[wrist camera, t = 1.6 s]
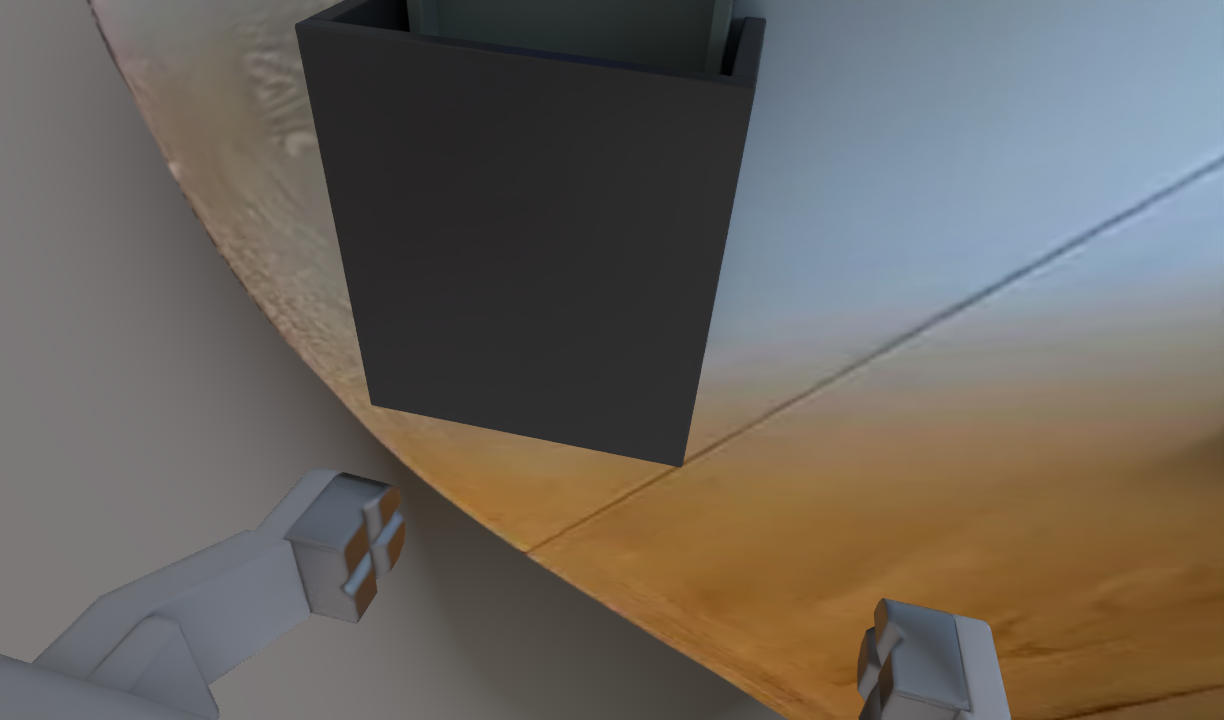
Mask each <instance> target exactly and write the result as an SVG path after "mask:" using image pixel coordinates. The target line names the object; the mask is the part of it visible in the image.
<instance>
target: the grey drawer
mask: <svg viewBox="0 0 1224 720" xmlns="http://www.w3.org/2000/svg"><path fill="white" fill-rule="evenodd" d="M733 5H734V0H407V9H408V18H409V28H410V32H411V33H419V34H426V35H433V36H441V37H448V38H455V39H462V40H470V41H477V42H484V43H492V44H499V45H506V46H514V47H521V48H528V49H535V50H543V51H550V52H557V53H565V54H572V55H579V56H586V57H594V58H601V59H608V60H616V61H623V62H630V63H638V64H645V65H652V66H659V67H667V68H674V69H681V70H689V71H696V72H703V73H711V74H718V75H722V72H723V66H724V60H725V54H726V48H727V42H728V36H729V29H730V23H731V17H732V11H733Z"/></svg>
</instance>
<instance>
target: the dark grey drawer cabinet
mask: <svg viewBox="0 0 1224 720" xmlns="http://www.w3.org/2000/svg"><path fill="white" fill-rule="evenodd" d="M765 27H766V19H764V18H756V17H746V18H745V21H744V25H743V29H742V33H741V37H740V41H739V45H738V49H737V53H736V57H735V61H734V65H733V69H732V73H731V76H725V75H718V74H711V73H703V72H696V71H689V70H681V69H674V68H667V67H659V66H652V65H645V64H638V63H630V62H623V61H616V60H608V59H601V58H594V57H586V56H579V55H572V54H565V53H557V52H550V51H543V50H535V49H528V48H521V47H514V46H506V45H499V44H492V43H484V42H477V41H470V40H462V39H455V38H448V37H441V36H433V35H426V34H419V33H411V32H410V28H409V18H408V9H407V0H344V1H342V2H340V3H338V4H336V5H334V6H332V7H330V8H328V9H326V10H323V11H321V12H319V13H317V14H315V15H313V16H311V17H309V18H307V19H305V20H303V21H301V22H299V23H296V24H295V29H296V34H297V39H298V44H299V49H300V54H301V59H302V64H303V69H304V74H305V79H306V84H307V89H308V94H309V98H310V103H311V108H312V113H313V118H314V123H315V128H316V133H317V138H318V143H319V148H320V153H321V158H322V163H323V168H324V173H325V178H326V183H327V188H328V193H329V198H330V203H331V207H332V212H333V217H334V222H335V227H336V232H337V237H338V242H339V247H340V252H341V257H342V262H343V267H344V272H345V277H346V282H347V287H348V292H349V297H350V302H351V307H352V311H353V316H354V321H355V326H356V331H357V336H358V341H359V346H360V351H361V356H362V361H363V366H364V371H365V376H366V381H367V386H368V391H369V396H370V401H371V404H372V405H374V406H379V407H384V408H389V409H394V410H399V411H404V412H408V413H413V414H418V415H423V416H428V417H433V418H438V419H443V420H448V421H453V422H458V423H463V424H468V425H473V426H478V427H483V428H488V429H493V430H498V431H503V432H508V433H513V434H517V435H522V436H527V437H532V438H537V439H542V440H547V441H552V442H557V443H562V444H567V445H572V446H577V447H582V448H587V449H592V450H597V451H602V452H607V453H612V454H617V455H622V456H627V457H631V458H636V459H641V460H646V461H651V462H656V463H661V464H666V465H671V466H676V467H682V466H683V461H684V456H685V451H686V445H687V440H688V435H689V430H690V425H691V420H692V414H693V409H694V404H695V399H696V394H697V389H698V384H699V378H700V373H701V368H702V363H703V358H704V353H705V347H706V342H707V337H708V332H709V327H710V322H711V316H712V311H713V306H714V301H715V296H716V291H717V286H718V280H719V275H720V270H721V265H722V260H723V255H724V249H725V244H726V239H727V234H728V229H729V224H730V218H731V213H732V208H733V203H734V198H735V193H736V188H737V182H738V177H739V172H740V167H741V162H742V157H743V151H744V146H745V141H746V136H747V131H748V126H749V121H750V115H751V110H752V105H753V100H754V95H755V90H756V83H757V77H758V71H759V64H760V58H761V52H762V45H763V39H764V33H765Z"/></svg>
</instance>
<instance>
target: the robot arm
mask: <svg viewBox="0 0 1224 720" xmlns="http://www.w3.org/2000/svg"><path fill="white" fill-rule="evenodd" d="M400 502H401V497H400V492H399V487H396V486H394V485H390V484H386V483H382V482H379V481H375V480H371V479H367V478H363V477H360V476H356V475H352V474H348V473H344V472H339V471H335V470H331V469H327V468H323V467H319V466H316V467H315V468H312V469H310V470H309V471H307V472H306V474H305V475H304V476H303V477H302V478H301V479H300V480H299V481H298V482H297V484H296V485H295V486H294V487H293V488H292V489H291V490H290V491H289V493H288V494H287V495H286V496H285V497H284V498H283V500H281V502H280V503H279V504H278V505H277V506H276V507H275V508H274V509H273V511H272V512H271V513H270V514H269V515H268V516H267V518H265V520H264V521H263V522H262V523H261V524H260V525H259V526H258V528H257V529H256V530H255V531H249V530H245V531H243V532H240V533H238V534H236V535H234V536H232V537H229V538H227V539H225V540H223V541H221V542H218V543H216V544H214V545H212V546H210V547H207V548H205V549H203V550H201V551H199V552H196V553H194V554H192V555H190V556H188V557H185V558H183V559H181V560H179V561H177V562H174V563H172V564H170V565H168V566H166V567H164V568H161V569H159V570H157V571H155V572H153V573H150V574H148V575H146V576H144V577H141V578H139V579H137V580H135V581H133V582H130V583H128V584H126V585H124V586H122V587H119V588H117V589H115V590H113V591H111V592H108V593H106V594H104V595H102V596H100V597H99V598H98V599H97V600H96V601H95V602H94V603H92V604H91V605H90V606H89V608H87V609H86V610H85V611H84V612H83V613H82V614H81V615H80V616H79V617H78V618H77V619H76V620H75V621H74V622H73V623H72V624H71V625H70V626H69V627H68V628H67V629H66V630H65V631H64V632H63V633H62V634H61V635H60V636H59V637H58V638H57V639H56V640H55V641H54V642H53V643H52V644H51V645H50V646H49V647H48V648H47V649H45V651H44V652H43V653H42V654H40V655H39V656H38V657H37V658H36V659H35V660H34V661H33V662H32V663H28V662H24V661H21V660H18V659H14V658H11V657H8V656H5V655H1V654H0V720H218V719H219V717H220V716H219V708H218V706H217V704H216V702H215V700H214V697H213V695H212V693H211V691H210V689H209V687H208V685H209V684H211V683H213V682H214V681H216V680H217V679H218V678H220V677H221V676H223V675H225V674H226V673H228V672H229V671H230V670H232V669H233V668H235V667H236V666H238V665H239V664H241V663H242V662H244V661H245V660H247V659H248V658H249V657H251V656H253V655H254V654H256V653H257V652H259V651H260V650H261V649H263V648H264V647H266V646H267V645H269V644H270V643H272V642H273V641H275V640H276V639H278V638H279V637H280V636H282V635H284V634H285V633H286V632H288V631H290V630H291V629H292V628H294V627H295V626H297V625H298V624H300V623H301V622H303V621H304V620H306V619H307V618H309V617H310V616H311V613H314V614H318V615H322V616H327V617H331V618H335V619H340V620H343V621H347V622H352V623H356V624H357V623H358V622H359V620H360V619H361V617H362V615H363V614H364V612H365V611H366V609H367V608H368V606H369V604H370V603H371V601H372V600H373V598H374V597H375V595H376V593H377V586H376V579H378V578H380V577H381V576H383V575H385V574H387V573H389V572H390V571H391V570H392V568H393V566H394V565H395V563H396V561H397V560H398V558H399V555H400V552H401V550H402V547H403V544H404V538H405V522H404V518H403V517H402V516H401V515H400V514H399V513H398V511H397V510H396V508H397V507H398V505H399V504H400ZM874 621H875V626H874V627H872V628H870V629H868V630H866V633H865V635H864V638H863V641H862V643H861V648H860V653H859V658H858V669H857V687H858V692H859V693H860V694H861V696H862V697H863V699H864V700H865V704H864V707H863V709H862V711H861V713H860V716H859V720H1011V716H1010V712H1009V707H1008V703H1007V699H1006V694H1005V690H1004V686H1003V681H1002V677H1001V673H1000V668H999V664H998V659H997V655H996V651H995V646H994V642H993V638H992V633H991V629H990V627H989V626H988V624H987V623H986V621H982V620H977V619H973V618H969V617H964V616H960V615H956V614H949V613H948V612H945V611H940V610H935V609H931V608H926V607H922V606H917V605H913V604H908V603H904V602H899V601H894V600H890V599H885V598H882V599H881V600H880V601H879V602H878V605H877V607H876V609H875V611H874Z"/></svg>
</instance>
